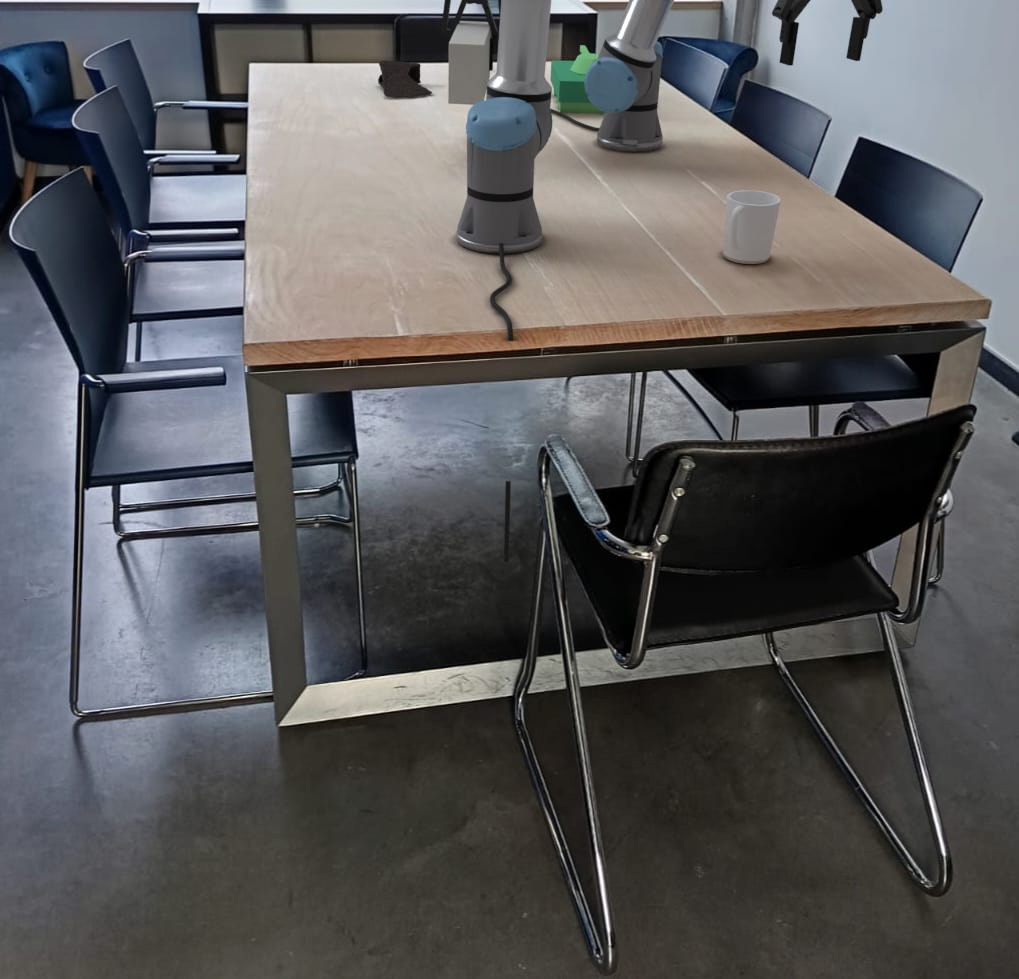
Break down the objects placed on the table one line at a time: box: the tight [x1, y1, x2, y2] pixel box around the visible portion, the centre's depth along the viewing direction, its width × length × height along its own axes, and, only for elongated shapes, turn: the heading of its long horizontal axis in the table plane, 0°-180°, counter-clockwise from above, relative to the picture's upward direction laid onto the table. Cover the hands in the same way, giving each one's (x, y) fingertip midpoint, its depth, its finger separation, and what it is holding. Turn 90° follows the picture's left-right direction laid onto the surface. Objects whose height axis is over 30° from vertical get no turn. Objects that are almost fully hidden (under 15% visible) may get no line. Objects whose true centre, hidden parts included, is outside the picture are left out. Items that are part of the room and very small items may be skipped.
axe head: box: [377, 59, 433, 99], centre depth 299 cm, size 18×8×15 cm
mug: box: [722, 189, 782, 265], centre depth 187 cm, size 11×9×10 cm
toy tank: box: [550, 44, 605, 115], centre depth 290 cm, size 18×12×35 cm
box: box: [447, 20, 492, 106], centre depth 236 cm, size 28×7×12 cm, turn 178°
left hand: (819, 62), depth 183 cm, fingers open, 13 cm apart
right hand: (473, 68), depth 247 cm, fingers closed on box, 7 cm apart
